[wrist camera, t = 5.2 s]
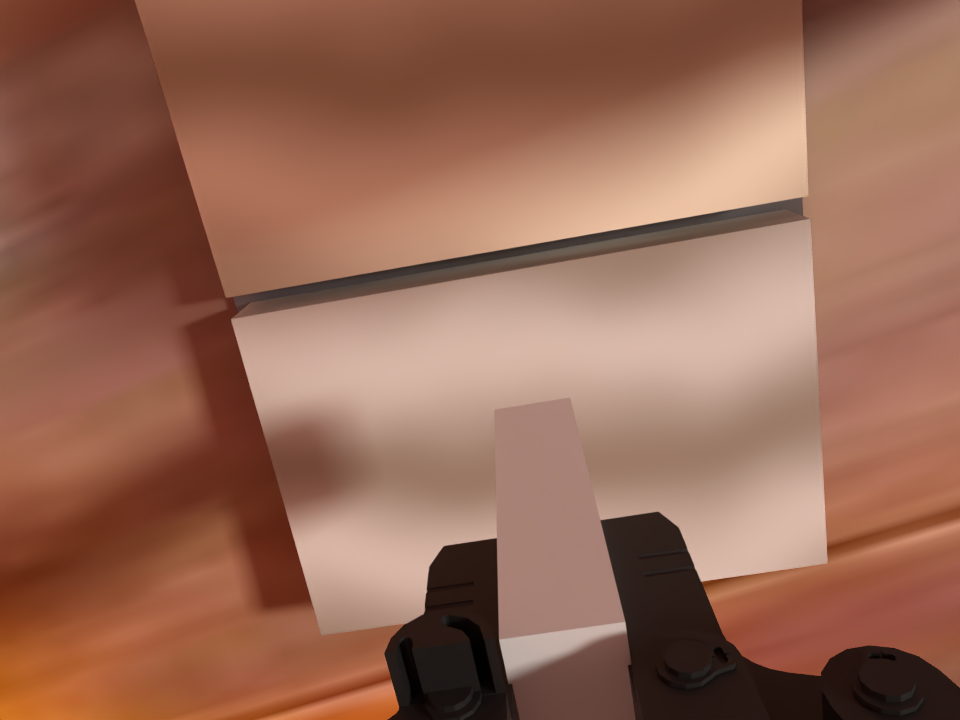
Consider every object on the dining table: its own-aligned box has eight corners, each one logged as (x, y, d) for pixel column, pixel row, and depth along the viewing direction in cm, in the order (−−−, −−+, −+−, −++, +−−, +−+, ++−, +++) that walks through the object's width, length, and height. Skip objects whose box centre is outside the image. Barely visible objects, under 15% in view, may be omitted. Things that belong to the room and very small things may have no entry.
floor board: (113, -115, 19) (70, -135, 17) (781, -259, 18) (817, -298, 16) (326, 593, 26) (313, 636, 24) (809, 523, 25) (837, 562, 23)
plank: (250, 302, 22) (230, 319, 21) (785, 209, 21) (810, 218, 20) (332, 599, 25) (321, 635, 24) (804, 530, 24) (827, 563, 23)
